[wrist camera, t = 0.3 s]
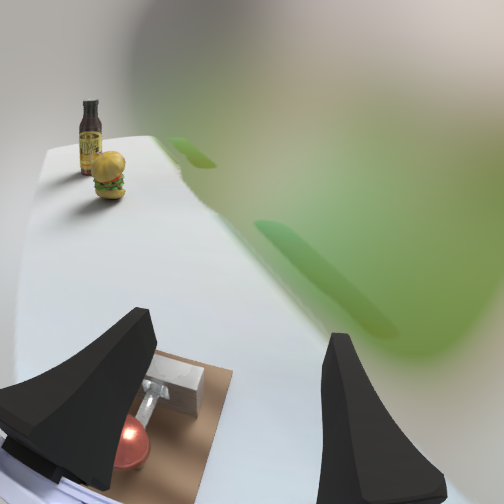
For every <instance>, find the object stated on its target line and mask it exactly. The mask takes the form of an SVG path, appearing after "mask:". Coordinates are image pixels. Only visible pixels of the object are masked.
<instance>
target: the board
mask: <svg viewBox="0 0 504 504" xmlns="http://www.w3.org/2000/svg"><path fill="white" fill-rule="evenodd" d="M154 354H157V355H161V356H164V357H167V358H170V359H174V360H177V361H181V362H184V363H188V364H191V365H195V366H198V367H202V368H204V401H203V404H202V407H201V410H200V413H199V416H198V418H197V417H193V416H190V415H186V414H183V413H179V412H176V411H173V410H170V409H167V408H164V407H161V406H158V405H156V406H155V408H154V410H153V413H152V415H151V417H150V420H149V422H148V424H147V427H146V429H145V431H146V433H147V435H148V437H149V439H150V444H151V451H150V455H149V457H148V459H147V460H146V462H145V464H144V466H143V468H141V469H138V470H136V469H132V470H119V469H116V468H113V472H112V478H111V485H110V489H109V490H107V491H104V492H102V491H100V490H97V489H95V488H93V487H91V486H88V487H87V486H85V485H83V484H80V485H81V486H83V487H85V488H87V489H89V490H91V491H93V492H96V493H98V494H100V495H103V496H105V497H107V498H110V499H112V500H115V501H117V502H120V503H123V504H194V502H195V499H196V496H197V492H198V489H199V486H200V482H201V479H202V476H203V472H204V469H205V466H206V462H207V459H208V456H209V452H210V449H211V446H212V442H213V439H214V435H215V432H216V429H217V425H218V422H219V418H220V415H221V411H222V408H223V405H224V401H225V398H226V394H227V391H228V387H229V384H230V380H231V377H232V372H233V371H232V370H227V369H223V368H219V367H215V366H211V365H208V364H204V363H200V362H196V361H193V360H189V359H185V358H182V357H179V356H175V355H172V354H168V353H165V352H162V351H159V350H155V353H154ZM142 401H143V400H141V399H138V398H134V400H133V403H132V405H131V407H130V409H129V412H128V414H129V415H132V416H133V417H136V415H137V412H138V410H139V408H140V406H141V404H142Z"/></svg>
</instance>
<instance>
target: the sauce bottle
mask: <svg viewBox="0 0 504 504" xmlns="http://www.w3.org/2000/svg"><path fill="white" fill-rule="evenodd" d="M83 106H84V115H83V119H82V121H81V123H80V129H79V130H80V131H79V148H80V167H81V172H82V174H86V175H91V174H92V173H91V166H92V165H91V164H92V163H93V161H94V159H96V157H98V156H99V155H100V154H98V153H97V152H99V151H101V150H102V133H101V129H102V127H101V126H102V124H101V121H100V120H99V118H98V113H97V108H98V107H97V106H98V99H87V100H84V101H83Z"/></svg>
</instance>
